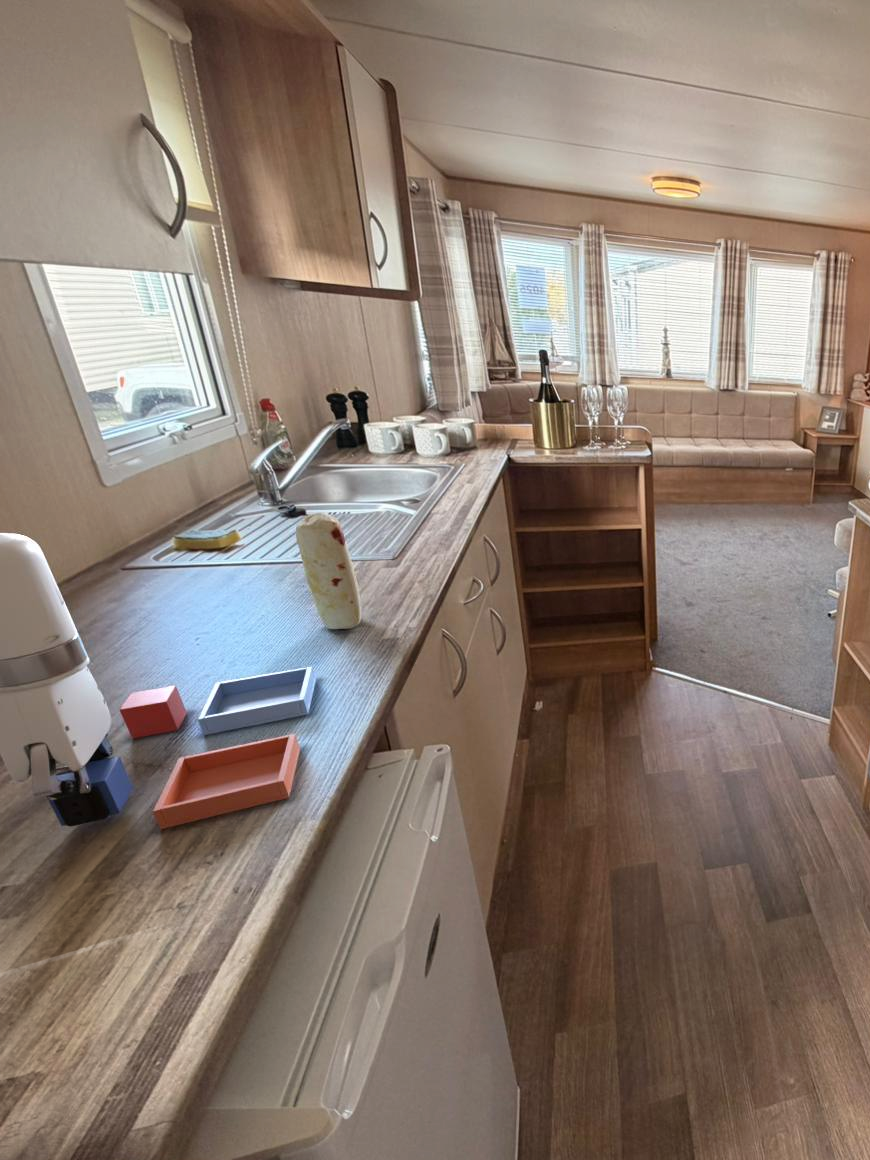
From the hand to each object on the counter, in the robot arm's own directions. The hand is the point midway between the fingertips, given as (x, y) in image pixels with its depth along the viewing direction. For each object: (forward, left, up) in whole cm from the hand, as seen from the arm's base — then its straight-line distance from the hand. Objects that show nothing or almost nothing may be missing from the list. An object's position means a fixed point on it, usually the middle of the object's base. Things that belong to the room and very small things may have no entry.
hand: (97, 803), depth 70 cm
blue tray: (+12, +19, -2) cm, 22 cm away
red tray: (+12, 0, -2) cm, 12 cm away
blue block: (0, 0, 0) cm, 0 cm away
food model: (+20, +45, -2) cm, 49 cm away
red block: (+1, +19, -2) cm, 19 cm away
